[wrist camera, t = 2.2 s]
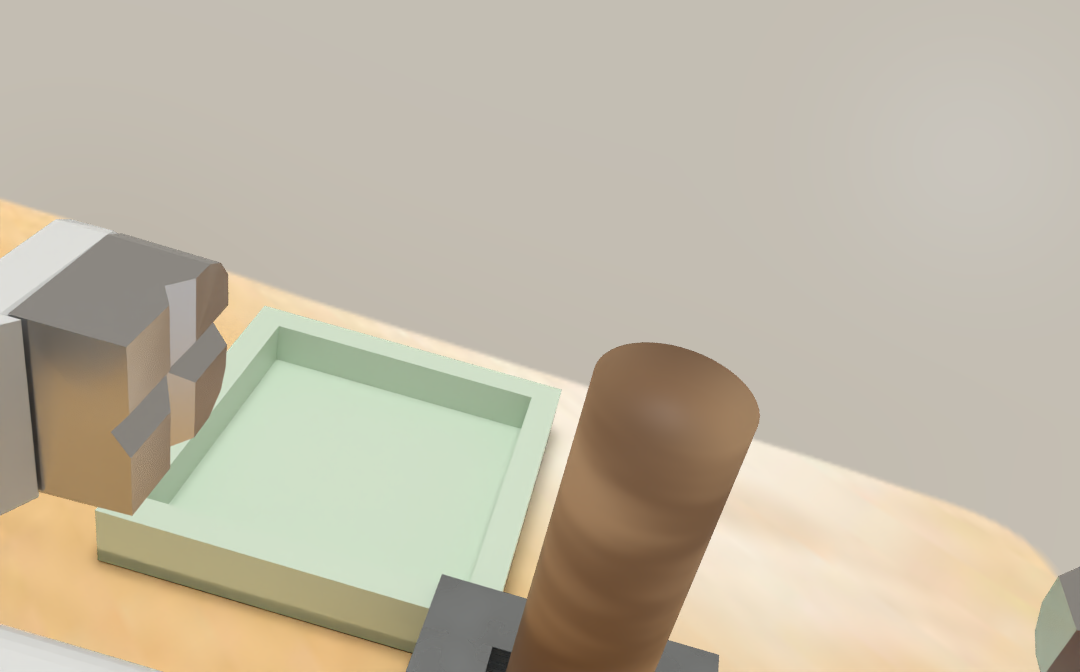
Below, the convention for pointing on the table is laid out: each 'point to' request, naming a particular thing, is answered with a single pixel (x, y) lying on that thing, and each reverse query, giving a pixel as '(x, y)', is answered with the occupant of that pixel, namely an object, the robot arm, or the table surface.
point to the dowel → (634, 509)
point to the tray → (342, 480)
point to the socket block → (500, 633)
